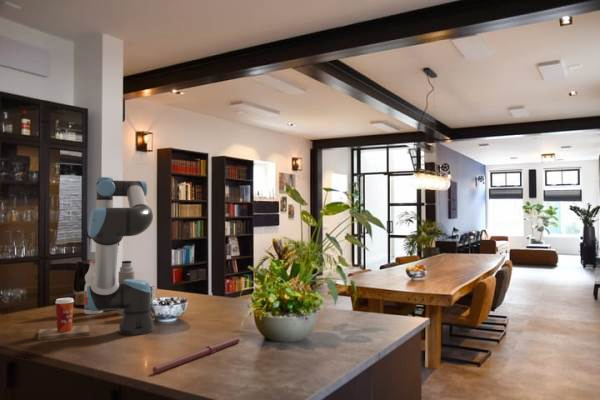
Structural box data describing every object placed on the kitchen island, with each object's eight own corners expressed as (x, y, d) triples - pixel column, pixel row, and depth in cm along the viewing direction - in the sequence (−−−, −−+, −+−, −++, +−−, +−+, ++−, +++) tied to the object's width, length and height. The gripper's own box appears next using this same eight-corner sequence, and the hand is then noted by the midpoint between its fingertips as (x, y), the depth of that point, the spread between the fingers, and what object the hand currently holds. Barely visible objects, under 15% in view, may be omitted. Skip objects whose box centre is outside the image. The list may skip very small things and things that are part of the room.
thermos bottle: (125, 315, 251) (126, 262, 252) (114, 313, 255) (115, 261, 255) (137, 312, 258) (137, 260, 259) (126, 311, 262) (127, 259, 262)
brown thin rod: (234, 343, 200) (234, 335, 200) (240, 344, 199) (240, 336, 199) (151, 374, 162) (151, 365, 162) (157, 376, 160) (157, 366, 160)
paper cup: (65, 333, 208) (66, 300, 209) (50, 332, 210) (51, 300, 210) (77, 328, 216) (78, 297, 216) (63, 327, 218) (63, 297, 218)
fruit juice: (107, 311, 260) (107, 260, 261) (94, 315, 251) (94, 262, 252) (93, 310, 263) (94, 259, 264) (80, 313, 254) (80, 261, 255)
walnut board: (88, 328, 224) (88, 324, 224) (89, 335, 211) (89, 331, 211) (39, 332, 215) (39, 329, 215) (37, 340, 202) (37, 336, 202)
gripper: (130, 208, 233) (130, 252, 232) (89, 208, 241) (89, 251, 240) (120, 208, 226) (119, 253, 225) (78, 208, 234) (77, 252, 233)
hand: (104, 252), depth 233 cm, fingers open, 13 cm apart
